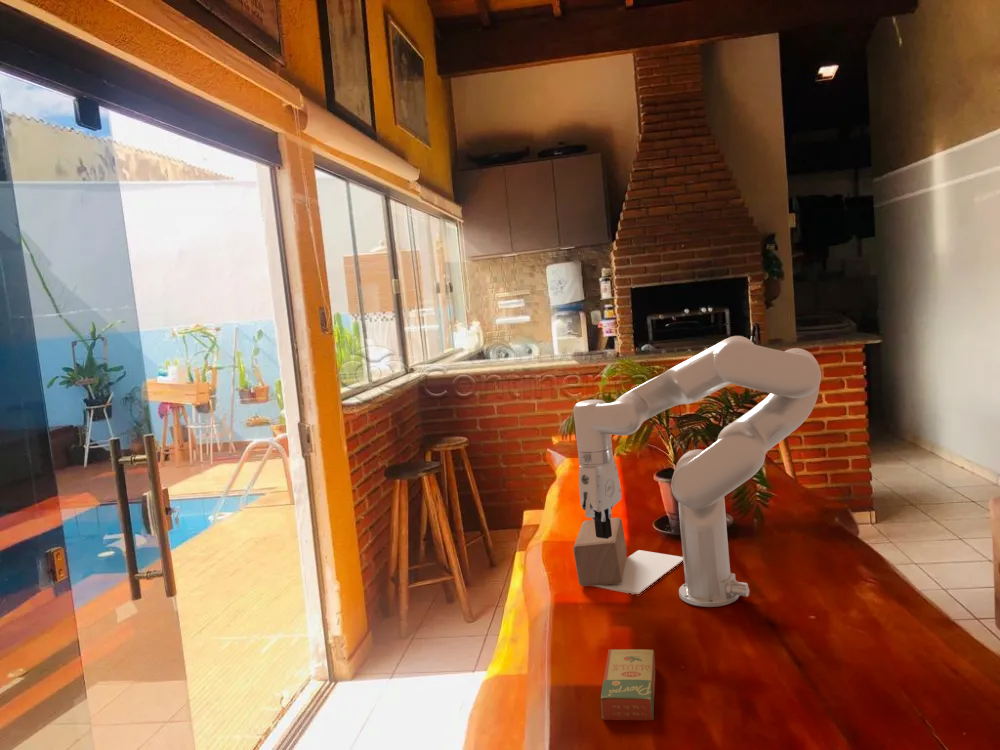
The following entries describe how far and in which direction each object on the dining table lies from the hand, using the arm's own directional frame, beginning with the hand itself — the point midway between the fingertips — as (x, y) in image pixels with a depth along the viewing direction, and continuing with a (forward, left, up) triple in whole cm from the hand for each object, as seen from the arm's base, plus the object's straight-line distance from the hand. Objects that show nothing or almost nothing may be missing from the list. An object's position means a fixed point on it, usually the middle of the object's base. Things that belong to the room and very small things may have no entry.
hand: (604, 536), depth 168 cm
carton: (-25, +33, -14) cm, 43 cm away
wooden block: (+3, 0, -7) cm, 8 cm away
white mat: (0, -13, -13) cm, 18 cm away
